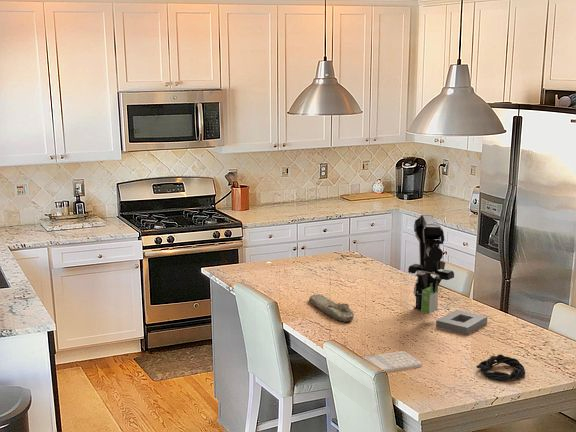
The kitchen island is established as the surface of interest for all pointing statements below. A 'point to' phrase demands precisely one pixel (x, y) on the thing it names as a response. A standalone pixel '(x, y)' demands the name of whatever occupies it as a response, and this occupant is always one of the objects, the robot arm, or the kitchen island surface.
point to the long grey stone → (332, 308)
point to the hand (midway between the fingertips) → (430, 291)
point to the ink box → (429, 300)
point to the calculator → (394, 361)
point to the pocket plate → (461, 322)
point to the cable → (501, 376)
